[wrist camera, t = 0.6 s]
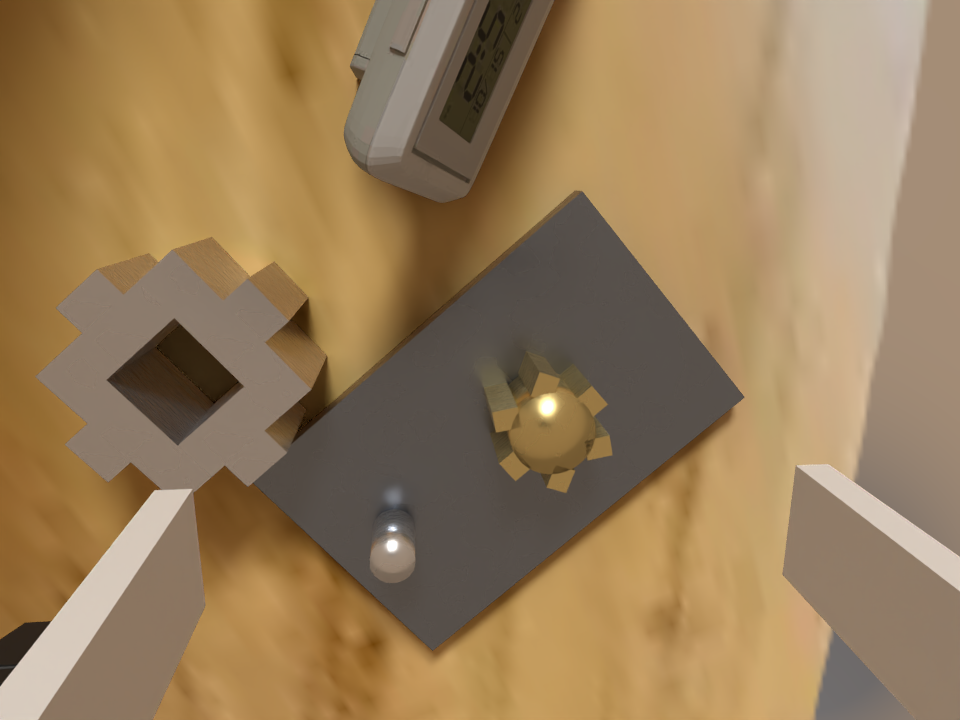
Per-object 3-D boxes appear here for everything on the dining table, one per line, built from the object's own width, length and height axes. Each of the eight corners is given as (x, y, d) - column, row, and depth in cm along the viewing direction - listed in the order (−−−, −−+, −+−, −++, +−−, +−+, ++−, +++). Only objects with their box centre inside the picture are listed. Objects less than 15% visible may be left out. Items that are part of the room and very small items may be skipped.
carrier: (256, 468, 38) (231, 516, 33) (575, 190, 36) (603, 193, 31) (431, 634, 42) (434, 701, 36) (732, 388, 40) (782, 422, 34)
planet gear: (53, 341, 36) (-16, 374, 30) (211, 195, 35) (171, 200, 29) (215, 489, 38) (180, 545, 33) (365, 357, 37) (357, 391, 32)
